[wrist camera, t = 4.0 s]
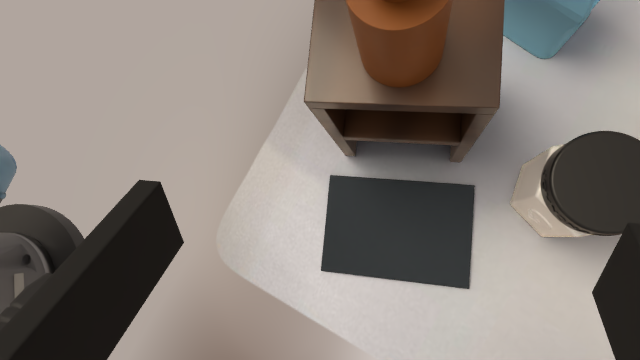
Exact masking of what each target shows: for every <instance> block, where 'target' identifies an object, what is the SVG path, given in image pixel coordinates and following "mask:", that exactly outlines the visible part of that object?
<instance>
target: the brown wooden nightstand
mask: <svg viewBox="0 0 640 360" xmlns="http://www.w3.org/2000/svg"><path fill="white" fill-rule="evenodd" d="M504 6H505V0H453V2H452V8H451V13H450V18H449V23H448V29H447V34H446V39H445V45H444V50H443V55H442V58H441V61H440V63H439V65H438V66H437V68H436V69H435V70H434V72H433V73H432V74H431V75H430V76H429V77H427V78H426V79H425V80H423V81H421V82H420V83H417V84H415V85H412V86H408V87H390V86H386V85H383V84H381V83H379V82H377V81H376V80H374V79H373V78H372V77H371V76H370V75H369V74H368V73H367V71H366V70H365V68H364V66H363V64H362V61H361V57H360V53H359V49H358V46H357V42H356V38H355V34H354V30H353V27H352V23H351V19H350V15H349V12H348V8H347V4H346V0H315V3H314V12H313V21H312V30H311V40H310V49H309V59H308V68H307V77H306V87H305V96H304V102H305V104H306V105H307V106H308V108H309V109H310V110H311V112H312V113H313V114H314V115H315V117H316V118H317V119H318V121H319V122H320V123H321V124H322V126H323V127H324V128H325V130H326V131H327V132H328V134H329V135H330V136H331V137H332V139H333V140H334V141H335V143H336V144H337V145H338V146H339V148H340V149H341V150H342V152H343V153H344V154H345V155H346V156H356V144H357V140H358V141H378V142H397V143H417V144H437V145H451V150H450V162H461V161H462V160H463V158H464V157H465V156H466V154H467V153H468V151H469V150H470V148H471V147H472V146H473V144H474V143H475V141H476V140H477V138H478V137H479V136H480V134H481V133H482V131H483V130H484V129H485V127H486V126H487V124H488V123H489V121H490V120H491V119H492V117H493V116H494V114H495V113H496V112H497V110H498V109H499V106H500V86H501V66H502V46H503V26H504Z"/></svg>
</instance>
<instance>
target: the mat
mask: <svg viewBox="0 0 640 360" xmlns="http://www.w3.org/2000/svg"><path fill="white" fill-rule="evenodd" d="M474 187H475V186H474V185H462V184H447V183H433V182H419V181H405V180H390V179H376V178H362V177H348V176H333V175H330V183H329V193H328V204H327V214H326V225H325V235H324V245H323V256H322V266H321V271H328V272H337V273H345V274H353V275H361V276H369V277H377V278H385V279H394V280H402V281H410V282H418V283H426V284H434V285H443V286H451V287H459V288H467V289H469V277H470V259H471V241H472V223H473V205H474Z"/></svg>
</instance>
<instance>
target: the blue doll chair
mask: <svg viewBox="0 0 640 360" xmlns="http://www.w3.org/2000/svg"><path fill="white" fill-rule="evenodd" d="M599 1H600V0H505V6H504V26H503V35H504V36H505V37H507V38H508V39H510V40H511V41H513V42H514V43H516V44H517V45H519V46H520V47H522V48H523V49H525V50H526V51H528V52H529V53H531V54H533V55H534V56H536V57H538V58H541V59H546V58H551V57H553V56H554V55H555V54H556V53H557V52H558V51H559V50H560V49H561V47H562V46H563V45H564V44H565V43H566V42H567V41H568V40H569V38H570V37H571V36H572V35H573V34H574V33H575V32H576V30H577V29H578V28H579V27H580V26H581V25H582V24H583V23H584V21H585V20H586V19H587V18H588V16H589V15H590V12H591V10H592V9H593V8H594V6H595V5H596V4H597V3H598V2H599Z"/></svg>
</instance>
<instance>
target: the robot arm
mask: <svg viewBox="0 0 640 360" xmlns="http://www.w3.org/2000/svg"><path fill="white" fill-rule="evenodd" d="M16 168H17V166H16V162H15V160H14V158H13V156H12V155H11V154H10V153H9V152H8V151H7V150H6V149H5V148H4V147H2V146H1V145H0V203H1V201H2V199H4V198H5V197H6V193H5V192H6V190H7V188H8V187H9V184H10V183H11V181H12V179H13V177H14V175H15V173H16ZM183 243H184V242H183V239H182V236H181V234H180V231H179V229H178V226H177V223H176V221H175V218H174V216H173V213H172V211H171V208H170V205H169V203H168V200H167V198H166V195H165V193H164V190H163V188H162V185H161V182H157V181H145V180H139V181H138V182H137V183H136V184H135V185H134V186H133V187H132V188H131V189H130V191H129V192H128V193H127V194H126V195H125V196H124V197H123V198H122V199H121V200H120V201H119V202H118V204H117V205H116V206H115V207H114V208H113V209H112V210H111V211H110V212H109V213H108V214H107V215H106V217H105V218H104V219H103V220H102V221H101V222H100V223H99V224H98V225H97V226H96V227H95V229H94V230H93V231H92V232H91V233H90V234H89V235H88V236H87V237H86V238H85V239H84V240H83V242H82V243H81V244H80V245H79V246H78V247H77V248H76V249H75V250H74V251H73V252H72V253H71V255H70V256H69V257H68V258H67V259H66V260H65V261H64V262H63V263H62V264H61V265H60V266H59V268H58V269H57V270H56V271H55V268H54V265H53V262H52V260H51V257H50V255H49V254H48V252H47V251H46V249H45V248H44V247H43V246H42V245H41V244H40V243H39V242H38V241H37V240H36V239H34V238H32V237H30V236H28V235H25V234H22V233H0V360H107V358H108V357H109V355H110V354H111V353H112V351H113V350H114V348H115V346H116V345H117V343H118V342H119V340H120V339H121V337H122V336H123V334H124V333H125V331H126V330H127V328H128V327H129V325H130V324H131V322H132V321H133V319H134V318H135V316H136V315H137V313H138V311H139V310H140V308H141V307H142V305H143V304H144V302H145V301H146V299H147V298H148V296H149V295H150V293H151V292H152V290H153V289H154V287H155V286H156V284H157V283H158V281H159V280H160V278H161V277H162V275H163V274H164V272H165V270H166V269H167V267H168V266H169V264H170V263H171V261H172V259H173V258H174V257H175V255H176V254H177V252H178V251H179V249H180V248H181V246H182V244H183ZM592 294H593V297H594V299H595V302H596V305H597V308H598V311H599V314H600V317H601V319H602V322H603V325H604V328H605V331H606V334H607V337H608V339H609V342H610V345H611V348H612V351H613V354H614V356H615V359H616V360H640V224H637V223H628V224H627V226H626V227H625V229H624V231H623V233H622V235H621V237H620V239H619V241H618V243H617V245H616V247H615V249H614V251H613V253H612V255H611V256H610V258H609V260H608V262H607V264H606V266H605V268H604V270H603V272H602V274H601V276H600V278H599V280H598V282H597V284H596V285H595V287H594V289H593V291H592Z"/></svg>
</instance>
